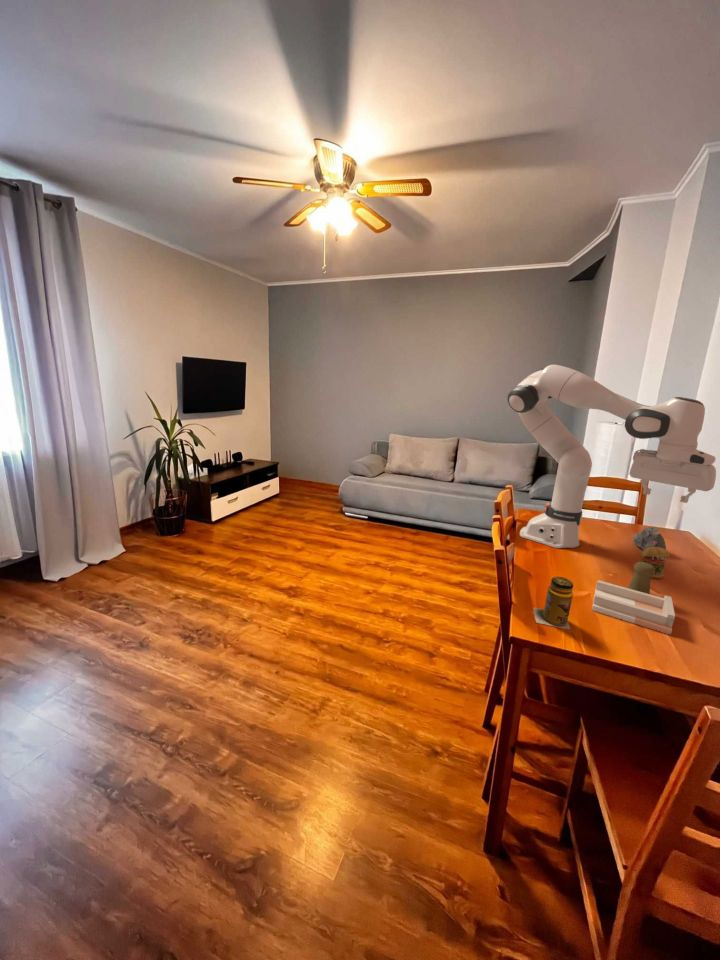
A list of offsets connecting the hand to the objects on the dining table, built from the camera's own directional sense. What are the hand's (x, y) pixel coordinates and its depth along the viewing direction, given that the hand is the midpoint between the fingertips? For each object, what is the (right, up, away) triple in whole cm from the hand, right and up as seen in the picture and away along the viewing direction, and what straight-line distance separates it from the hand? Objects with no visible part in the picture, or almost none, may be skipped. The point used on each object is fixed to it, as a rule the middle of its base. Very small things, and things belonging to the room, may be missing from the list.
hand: (664, 498), depth 116 cm
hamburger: (+8, -28, +16) cm, 33 cm away
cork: (-7, -31, +2) cm, 32 cm away
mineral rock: (+23, -23, +37) cm, 49 cm away
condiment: (-41, -33, -11) cm, 54 cm away
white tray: (-15, -32, -6) cm, 36 cm away
